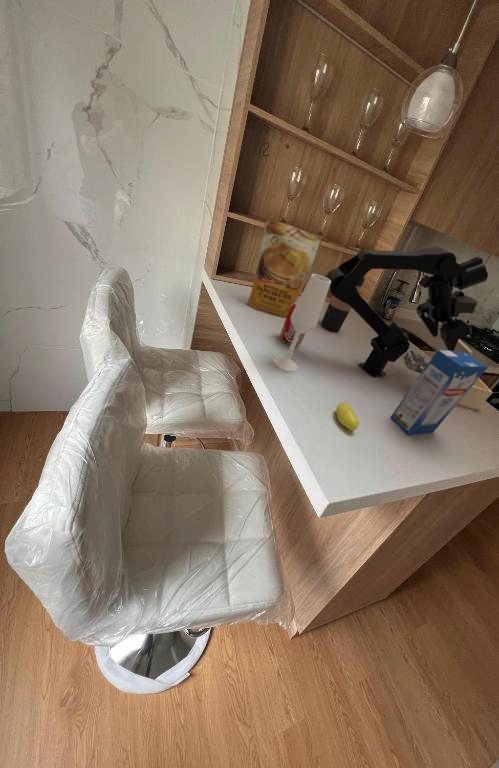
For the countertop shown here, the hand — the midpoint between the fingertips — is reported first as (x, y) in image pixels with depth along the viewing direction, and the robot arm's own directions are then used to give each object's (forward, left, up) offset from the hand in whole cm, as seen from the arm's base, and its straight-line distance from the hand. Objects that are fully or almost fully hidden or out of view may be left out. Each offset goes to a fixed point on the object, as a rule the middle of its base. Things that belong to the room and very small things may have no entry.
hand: (442, 343), depth 97 cm
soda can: (-34, +26, -14) cm, 45 cm away
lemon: (-44, -8, -14) cm, 47 cm away
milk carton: (-24, -14, -14) cm, 31 cm away
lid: (+4, -4, -2) cm, 6 cm away
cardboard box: (+10, -8, -14) cm, 19 cm away
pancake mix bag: (-28, +47, -14) cm, 56 cm away
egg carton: (+11, +8, -15) cm, 20 cm away
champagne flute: (-44, +15, -14) cm, 48 cm away
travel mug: (-8, +34, -14) cm, 38 cm away
